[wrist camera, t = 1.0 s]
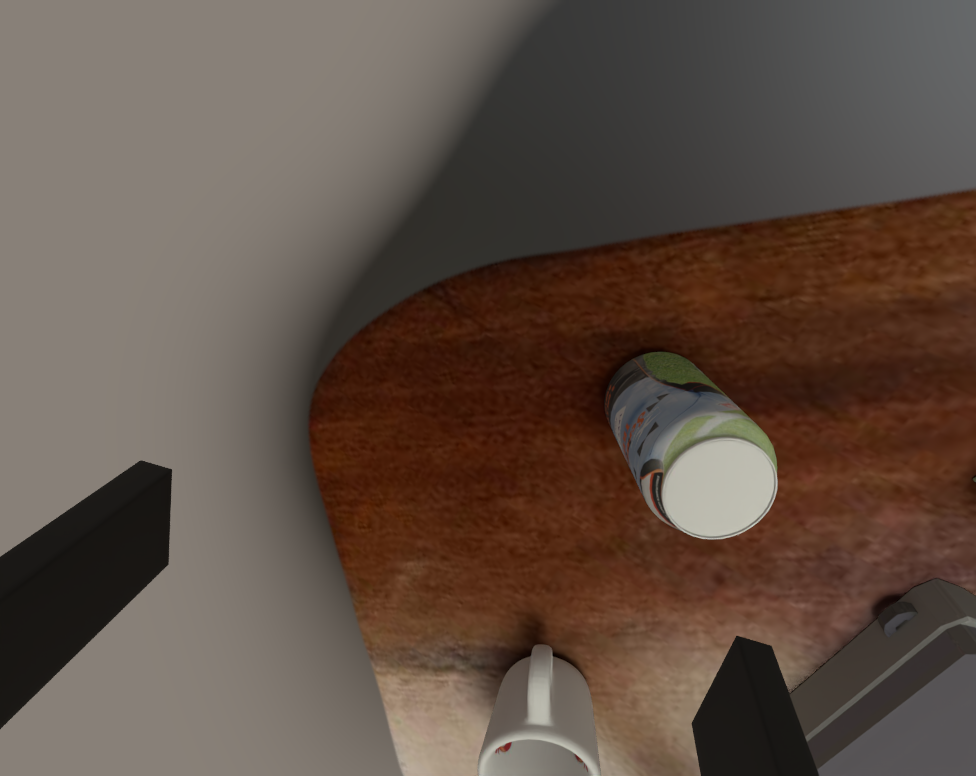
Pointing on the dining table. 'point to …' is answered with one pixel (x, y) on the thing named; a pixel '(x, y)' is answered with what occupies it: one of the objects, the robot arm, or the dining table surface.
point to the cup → (541, 722)
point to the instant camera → (899, 692)
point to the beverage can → (690, 447)
